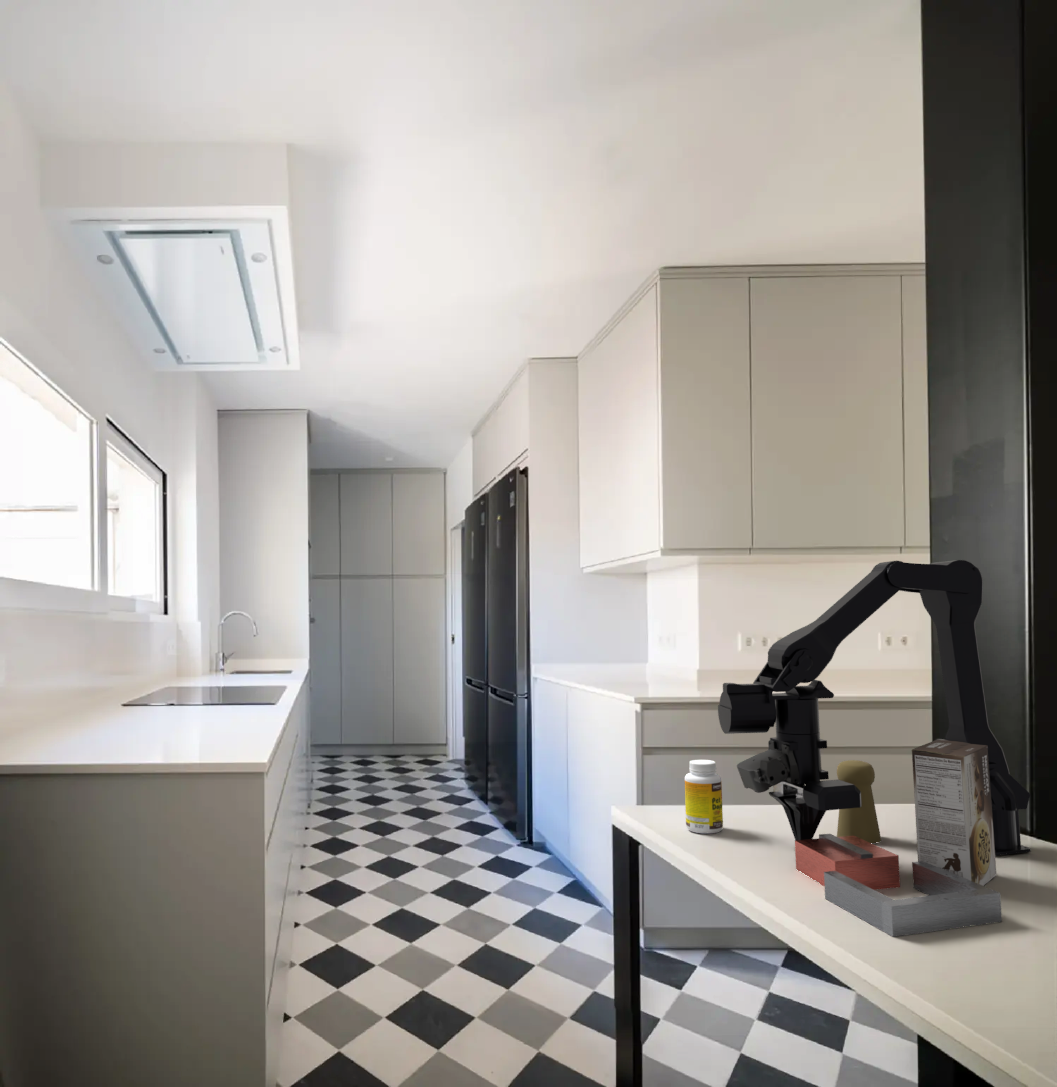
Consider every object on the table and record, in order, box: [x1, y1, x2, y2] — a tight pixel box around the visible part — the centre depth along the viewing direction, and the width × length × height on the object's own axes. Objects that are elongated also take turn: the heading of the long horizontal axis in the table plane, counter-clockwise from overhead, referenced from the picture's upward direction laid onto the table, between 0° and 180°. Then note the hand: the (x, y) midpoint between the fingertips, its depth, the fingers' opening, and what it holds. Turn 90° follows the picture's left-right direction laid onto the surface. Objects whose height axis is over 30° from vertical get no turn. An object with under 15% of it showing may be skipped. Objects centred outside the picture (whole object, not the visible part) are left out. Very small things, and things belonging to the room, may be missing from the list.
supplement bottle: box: [684, 759, 724, 835], centre depth 124 cm, size 6×6×10 cm
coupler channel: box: [824, 860, 1003, 938], centre depth 90 cm, size 14×12×3 cm
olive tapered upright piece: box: [836, 759, 882, 844], centre depth 118 cm, size 6×6×11 cm
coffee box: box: [911, 739, 997, 886], centre depth 100 cm, size 9×6×16 cm
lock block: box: [794, 833, 901, 891], centre depth 101 cm, size 8×9×4 cm
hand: (802, 848), depth 110 cm, fingers closed
